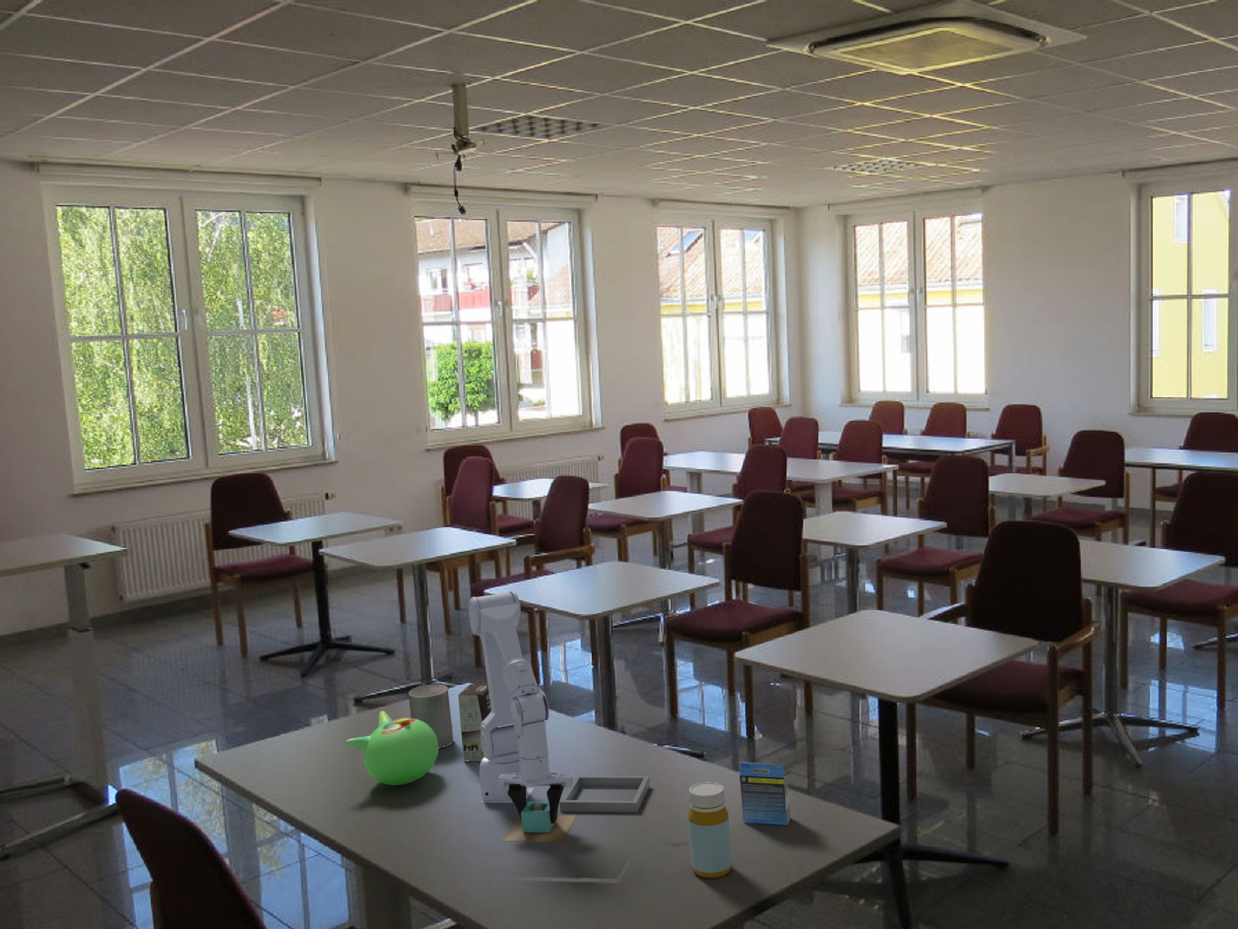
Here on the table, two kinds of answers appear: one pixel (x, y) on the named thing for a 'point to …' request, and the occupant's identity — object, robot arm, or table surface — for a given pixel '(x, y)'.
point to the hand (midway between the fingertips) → (539, 821)
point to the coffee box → (473, 719)
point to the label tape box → (764, 794)
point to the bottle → (709, 830)
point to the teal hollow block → (536, 818)
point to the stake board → (553, 836)
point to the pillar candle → (433, 710)
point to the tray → (605, 782)
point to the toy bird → (398, 750)
